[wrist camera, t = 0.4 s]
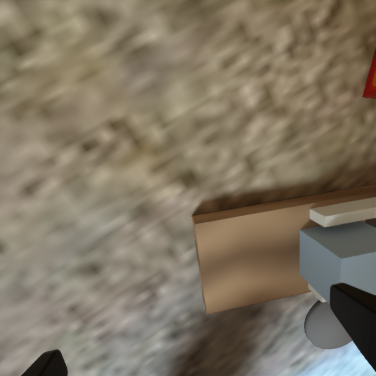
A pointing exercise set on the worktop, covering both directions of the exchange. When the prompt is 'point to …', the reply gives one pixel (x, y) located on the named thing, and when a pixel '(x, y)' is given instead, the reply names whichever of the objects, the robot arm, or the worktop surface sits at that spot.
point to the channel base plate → (259, 248)
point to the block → (339, 257)
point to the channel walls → (342, 218)
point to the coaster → (325, 327)
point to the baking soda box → (371, 81)
